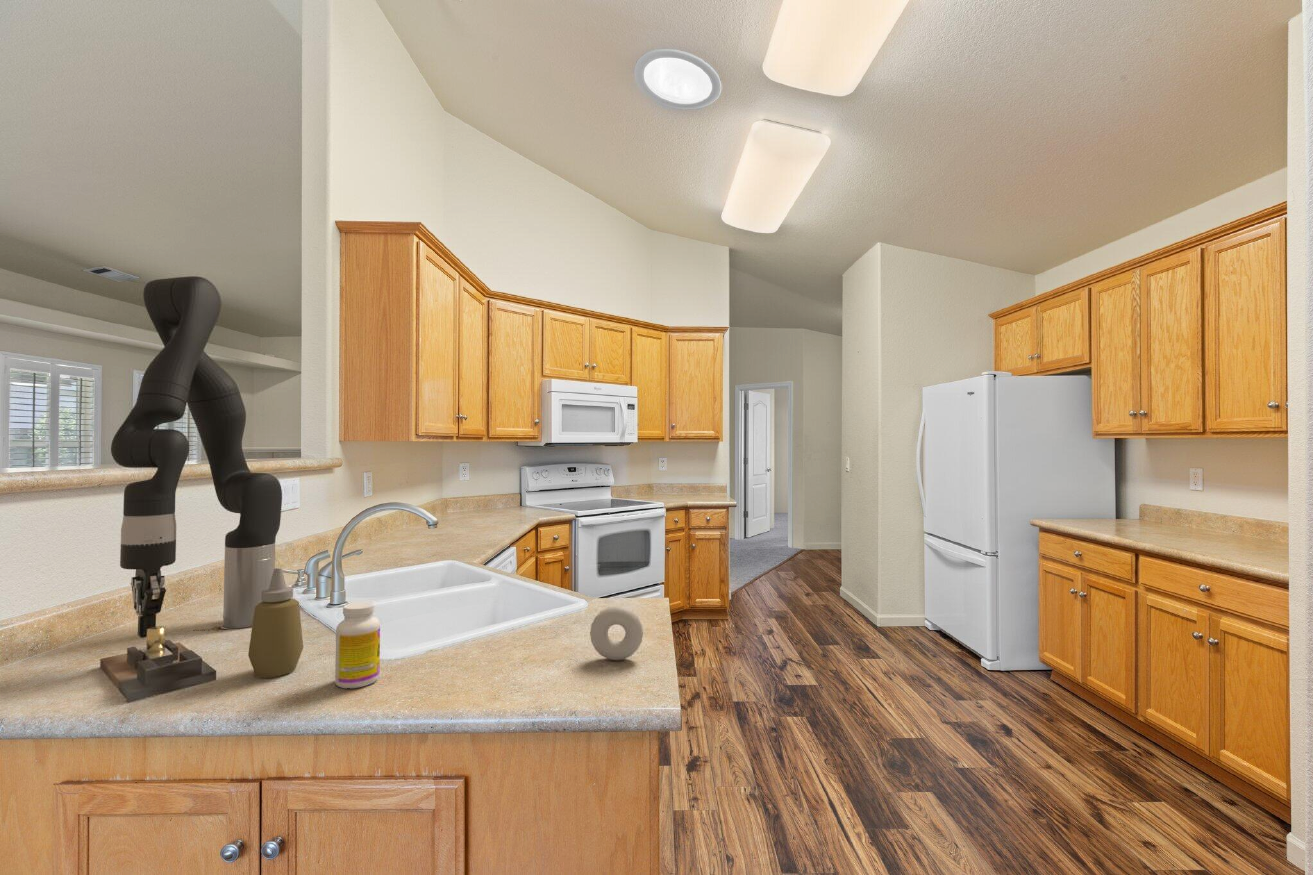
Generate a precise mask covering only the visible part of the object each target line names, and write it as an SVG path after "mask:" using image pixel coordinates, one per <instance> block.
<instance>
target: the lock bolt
mask: <svg viewBox="0 0 1313 875" xmlns="http://www.w3.org/2000/svg"><path fill="white" fill-rule="evenodd" d="M165 640H166V626H165V625H158V626H157V625H156V626H155V627H151V628H148V629H147V637H146V646H143V647H140V648H138V650H139V651H140V652H141V653H142V654H143V660H148V659H151V660H152V661H153V662H154V663H155V664H156V665H157V666H158V667H159V666H163V665H168V664H172V663H173V653H171V652H170V651H169V650H168V649H166V648H165Z"/></svg>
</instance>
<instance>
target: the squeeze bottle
mask: <svg viewBox="0 0 1313 875" xmlns="http://www.w3.org/2000/svg"><path fill="white" fill-rule="evenodd" d="M293 597H294V588H293V587H292V586H287V583H286V580H285V576H284V571H283V568H282V567H277V568H276V567H275V569H274V571H273V575H272V579H271V582H270V586H269V589H265V590H263V591H262V596H261V600H262V601H263V602H261V603H259V604H258V605H257V606H256V607H255V610H254V617H253V624H252V626H251V633H250V639H249V646H248V652H247V653H248V654H247V655H248V659H249V662H250V664H251V667H252V669H253V672H254V675H255V676H256V677H258V678H264V679H265V678H267V679H268V678H275V677H279V676H284V675H287V674H290V673H292V672H294V671H295V670H296V668H297V666H298V664H299V661H300V658H301V655H302V653H303V650H304V641H303V631H302V630H303V629H302V628H303V627H302V620H301V608H300V607H301V606H300V602H299V601H298V600H297V599H295V598H293Z"/></svg>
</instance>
